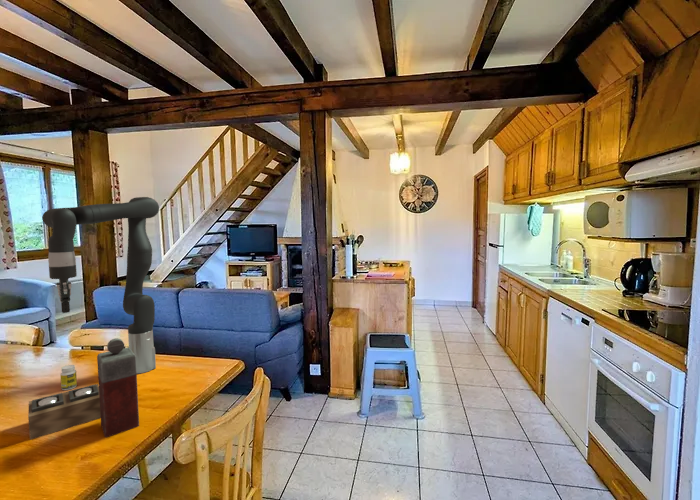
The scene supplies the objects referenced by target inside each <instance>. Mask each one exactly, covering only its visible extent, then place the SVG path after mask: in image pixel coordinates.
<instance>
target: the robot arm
mask: <svg viewBox="0 0 700 500" xmlns="http://www.w3.org/2000/svg"><path fill="white" fill-rule="evenodd" d="M159 212H160V206H159V203H158V202H157V200H156V199H154V198H152V197H148V196H139V197H137V196H136V197H133V198H131V199H130V200H129V201H128V202H127V201H126V202H120V203H119V202H118V203H97V204H86V205H81V206H76V207H75V206H74V207H60V208H59V207H58V208H57V207H56V208H50V209H48V210H46V211H45V212H44V213H43V214H42V217H41V219H42V222H43V224H44V225H46V226H47V227H49V228H52V234H51V236H49V237H48V240H47V246H48V247H47V249H48V257H47V258H48V275H49V279H51V280H59V281H58V282H57V283H56V289H57V295H58V297H59V302H60V306H61V313H62V314H67V313H70V311H71V309H70V308H71V307H70V306H71V305H70V301H71V295H72V290H71V289H72V282H71V281H69V279H74V278H76V277H77V276H78V275H77V274H78V272H77V258H76V254H75V244H74V243H75V242H74V239H75V235H76V230H77V226H78V225H92V224H100V223H104V222H105V223H106V222H111V221H117V220H123V219H127V226H128V233H127V234H128V235H127V236H128V237H127V250H126V251H127V253H126V256H127V257H126V275H125V276H126V279H125V287H124V291H123V299H122V310H123V311H124V312H125V313H126V315H130V316H133V323H132V324H129V325H128V327H127V336H128V348H130V349H131V351H132V352H133V353H134V355H135V356H136V372H137V375H138V374H145V373H147V372H150V371H152V370H154V369H157V366H156V362H157V361H156V348H155V346H154V332H153V331H154V328H153V327H154V324H155V320H156V319H155V316H156V315H155V312H156V311H155V310H156V309H155V306H156V305H155V300H154V299H153V298H152V296H150V295H147V294H143V289H144V287H143V286H144V282H145V278H146V276H147V274H148V273H149V271H150V269H151V267H152V262H153V248H152V243H151V242H150V239H149V236H148V233H147V228H146V224H147V219H151V218H154V217H156V216H157V215H158V213H159Z"/></svg>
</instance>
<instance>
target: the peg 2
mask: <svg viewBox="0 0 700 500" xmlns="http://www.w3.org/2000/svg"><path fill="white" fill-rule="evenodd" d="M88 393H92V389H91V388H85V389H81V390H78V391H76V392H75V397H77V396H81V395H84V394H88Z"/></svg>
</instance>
